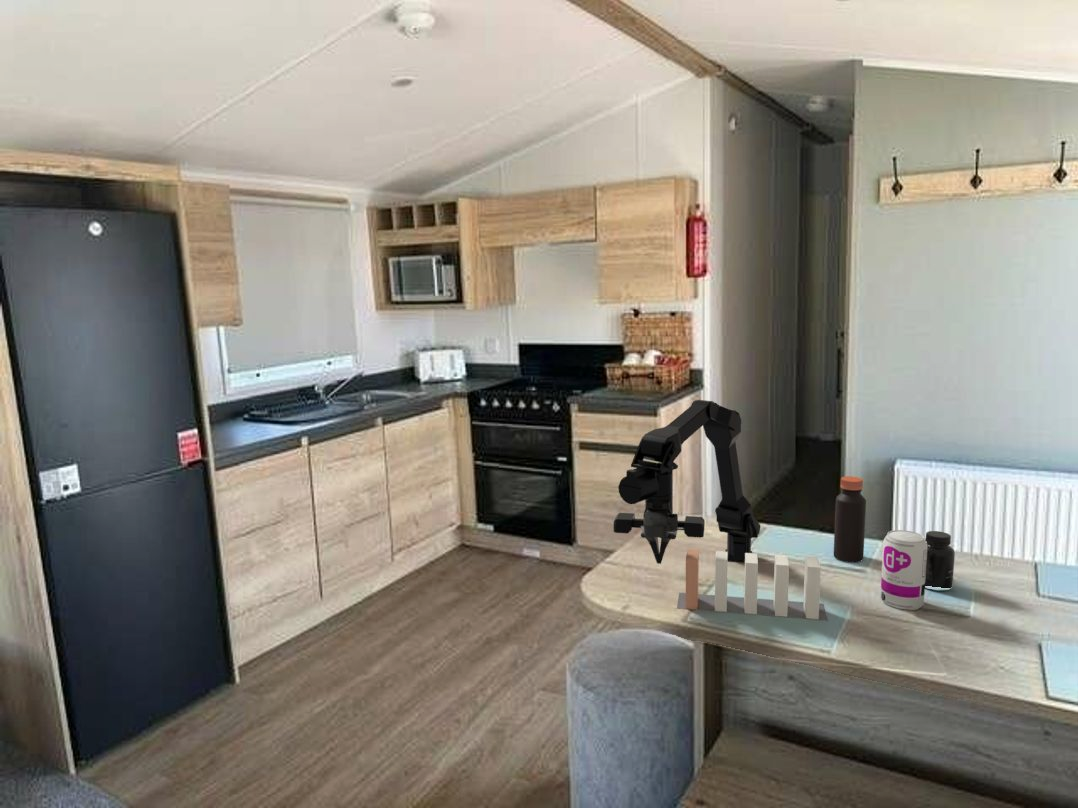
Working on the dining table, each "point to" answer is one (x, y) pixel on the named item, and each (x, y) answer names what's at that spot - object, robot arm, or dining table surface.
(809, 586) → the domino
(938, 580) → the supplement bottle
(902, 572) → the supplement can
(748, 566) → the domino
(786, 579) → the domino
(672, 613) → the dining table surface
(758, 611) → the mat
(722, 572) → the domino
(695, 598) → the orange end domino
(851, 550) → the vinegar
